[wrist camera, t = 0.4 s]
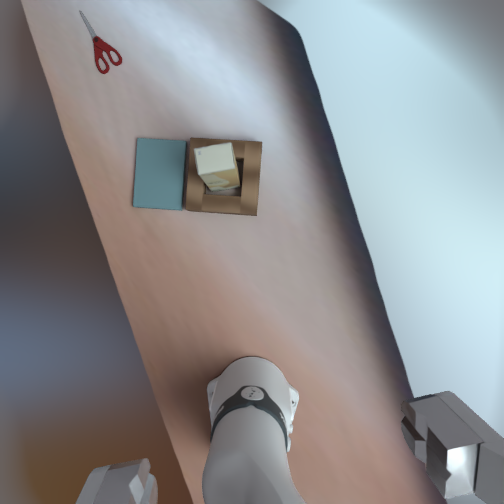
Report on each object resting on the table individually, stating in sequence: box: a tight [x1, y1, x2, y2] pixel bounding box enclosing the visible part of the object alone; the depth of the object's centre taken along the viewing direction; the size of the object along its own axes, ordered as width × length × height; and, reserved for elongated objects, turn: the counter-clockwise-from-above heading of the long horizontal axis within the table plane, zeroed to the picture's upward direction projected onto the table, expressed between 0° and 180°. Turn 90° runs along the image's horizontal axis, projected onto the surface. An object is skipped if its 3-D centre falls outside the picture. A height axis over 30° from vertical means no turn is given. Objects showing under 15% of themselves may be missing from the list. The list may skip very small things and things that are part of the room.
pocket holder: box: [186, 138, 262, 216], centre depth 51 cm, size 14×14×2 cm
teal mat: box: [133, 138, 187, 211], centre depth 52 cm, size 14×10×1 cm
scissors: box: [80, 11, 122, 74], centre depth 53 cm, size 5×14×1 cm, turn 30°
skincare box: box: [194, 142, 240, 192], centre depth 46 cm, size 6×4×12 cm
